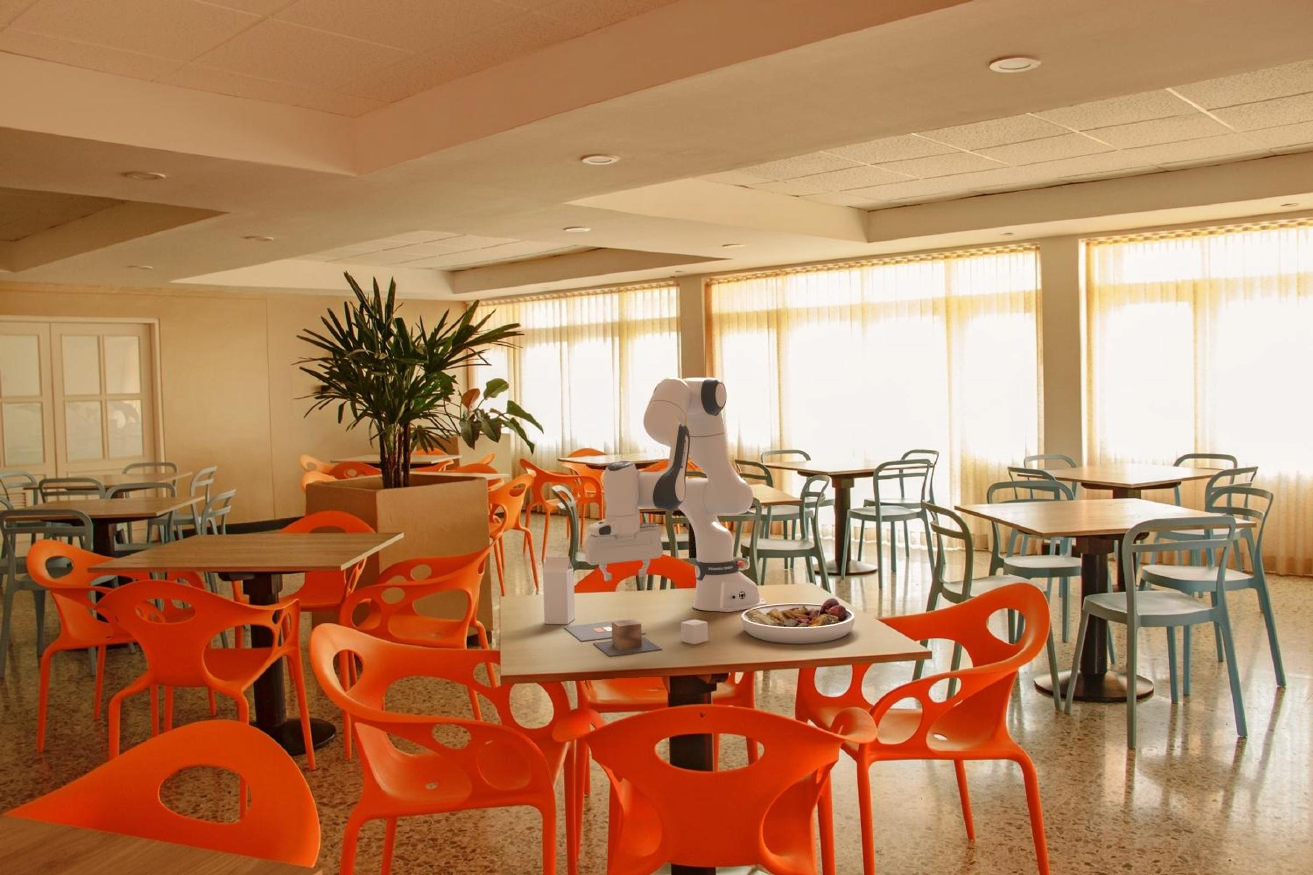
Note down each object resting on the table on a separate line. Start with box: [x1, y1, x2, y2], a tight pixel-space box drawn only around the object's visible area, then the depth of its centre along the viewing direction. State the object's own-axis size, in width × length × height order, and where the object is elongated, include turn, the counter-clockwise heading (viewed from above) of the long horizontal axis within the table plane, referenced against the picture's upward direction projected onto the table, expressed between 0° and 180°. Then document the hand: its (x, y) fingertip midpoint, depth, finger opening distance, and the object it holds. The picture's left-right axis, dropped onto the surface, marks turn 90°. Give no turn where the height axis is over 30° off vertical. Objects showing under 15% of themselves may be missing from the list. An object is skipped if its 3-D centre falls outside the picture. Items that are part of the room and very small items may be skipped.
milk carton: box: [542, 556, 576, 625], centre depth 289 cm, size 7×7×19 cm
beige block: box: [680, 618, 709, 645], centre depth 262 cm, size 5×5×5 cm
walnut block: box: [611, 618, 643, 650], centre depth 257 cm, size 6×6×6 cm
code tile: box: [563, 619, 646, 643], centre depth 276 cm, size 18×18×1 cm
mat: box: [592, 636, 663, 657], centre depth 258 cm, size 14×14×1 cm
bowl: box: [740, 597, 856, 645], centre depth 268 cm, size 30×30×8 cm
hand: (625, 578), depth 257 cm, fingers open, 8 cm apart
